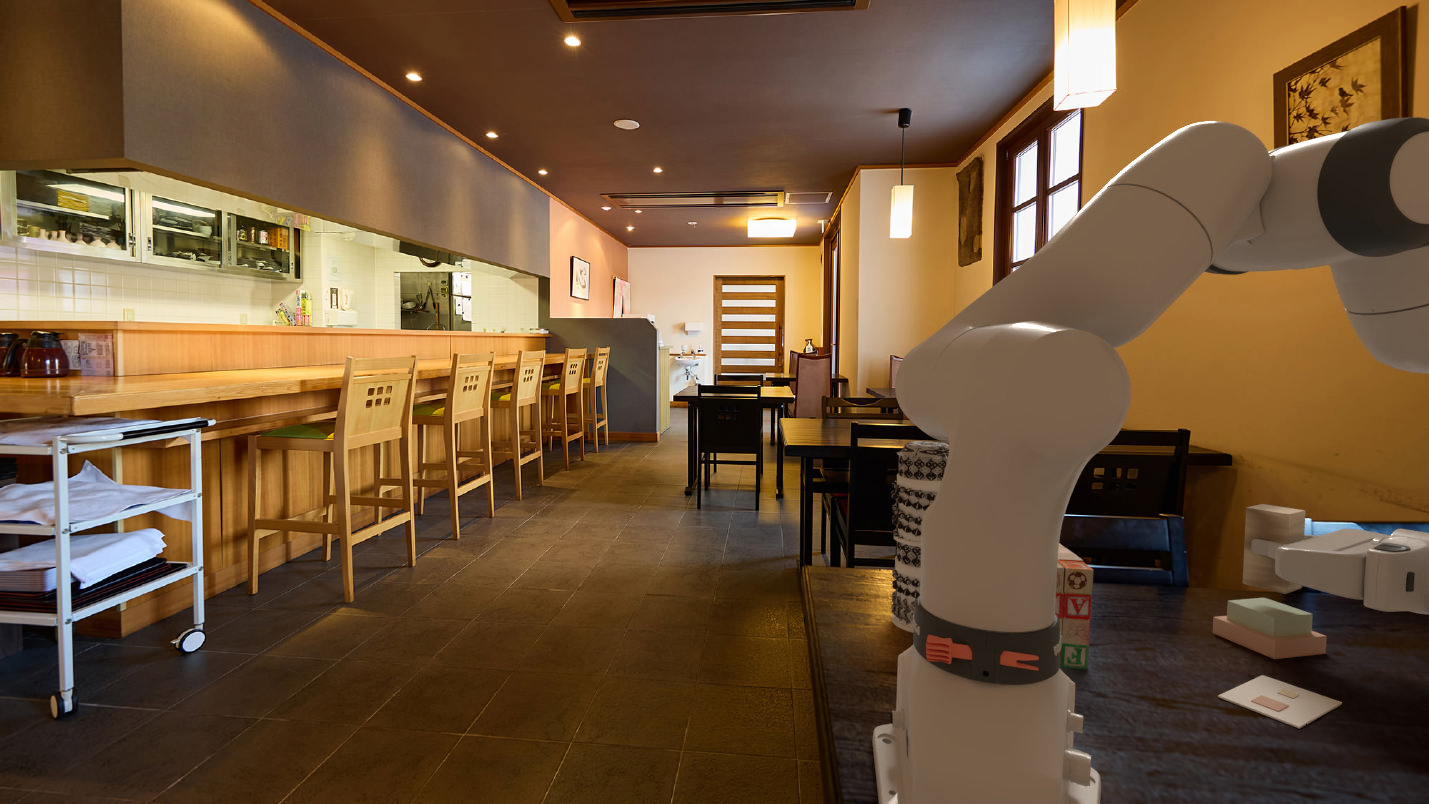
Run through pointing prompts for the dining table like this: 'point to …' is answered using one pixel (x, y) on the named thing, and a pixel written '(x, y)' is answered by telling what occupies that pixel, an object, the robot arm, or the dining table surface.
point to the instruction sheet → (1280, 701)
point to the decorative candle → (913, 520)
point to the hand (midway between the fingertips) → (1265, 541)
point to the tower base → (1270, 642)
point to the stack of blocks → (1073, 608)
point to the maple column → (1272, 526)
